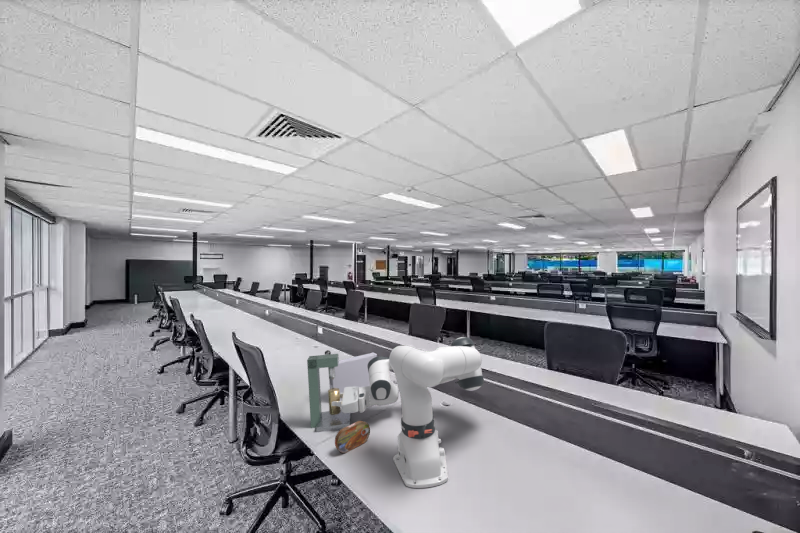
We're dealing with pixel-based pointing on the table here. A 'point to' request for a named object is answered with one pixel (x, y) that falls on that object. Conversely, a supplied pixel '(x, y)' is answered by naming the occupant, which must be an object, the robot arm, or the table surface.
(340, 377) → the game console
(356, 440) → the tin
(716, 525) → the table surface
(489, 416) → the table surface
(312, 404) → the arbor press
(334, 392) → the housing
